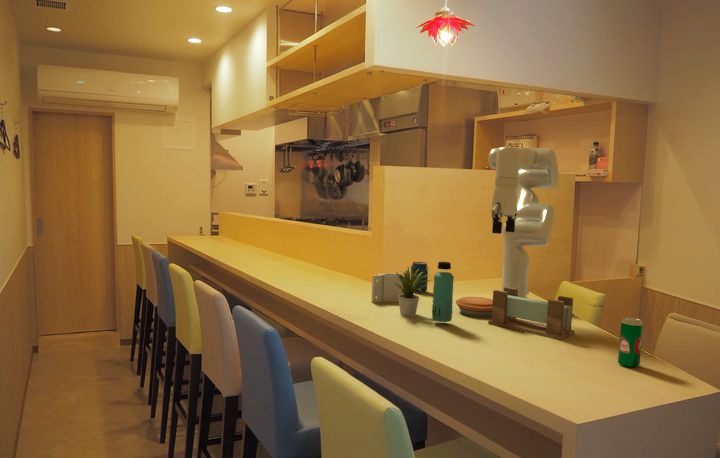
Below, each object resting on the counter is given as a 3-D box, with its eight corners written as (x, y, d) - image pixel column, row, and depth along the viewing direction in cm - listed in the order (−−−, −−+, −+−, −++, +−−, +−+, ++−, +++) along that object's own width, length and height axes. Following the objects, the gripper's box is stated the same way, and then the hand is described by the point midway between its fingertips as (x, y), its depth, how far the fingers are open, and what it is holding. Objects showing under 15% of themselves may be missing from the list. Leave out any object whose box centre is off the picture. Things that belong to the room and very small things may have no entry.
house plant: (416, 323, 175) (419, 272, 174) (379, 316, 183) (381, 267, 181) (435, 314, 187) (437, 267, 186) (399, 308, 195) (401, 262, 193)
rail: (498, 311, 182) (499, 293, 182) (571, 325, 167) (572, 306, 166) (493, 313, 180) (494, 294, 179) (566, 327, 164) (568, 308, 164)
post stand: (502, 318, 185) (504, 286, 184) (574, 333, 169) (576, 298, 169) (488, 323, 178) (490, 290, 177) (561, 339, 162) (564, 303, 161)
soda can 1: (429, 291, 227) (431, 262, 226) (422, 294, 221) (423, 264, 220) (414, 289, 231) (416, 261, 230) (406, 291, 225) (408, 262, 224)
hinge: (372, 303, 202) (373, 275, 201) (367, 300, 207) (368, 273, 206) (407, 302, 206) (408, 275, 205) (402, 299, 211) (403, 273, 210)
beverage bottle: (453, 322, 177) (456, 261, 175) (449, 327, 171) (453, 264, 169) (433, 320, 179) (436, 259, 178) (429, 325, 173) (432, 262, 171)
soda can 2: (613, 362, 143) (617, 316, 142) (632, 362, 143) (635, 316, 142) (624, 368, 138) (628, 321, 137) (643, 368, 138) (647, 321, 137)
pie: (501, 320, 183) (502, 305, 183) (454, 316, 186) (454, 301, 186) (499, 310, 198) (500, 296, 198) (455, 306, 202) (456, 293, 201)
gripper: (507, 183, 199) (504, 230, 200) (484, 182, 186) (481, 232, 187) (527, 184, 194) (524, 232, 195) (504, 183, 181) (501, 234, 182)
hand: (503, 232), depth 191 cm, fingers open, 9 cm apart
